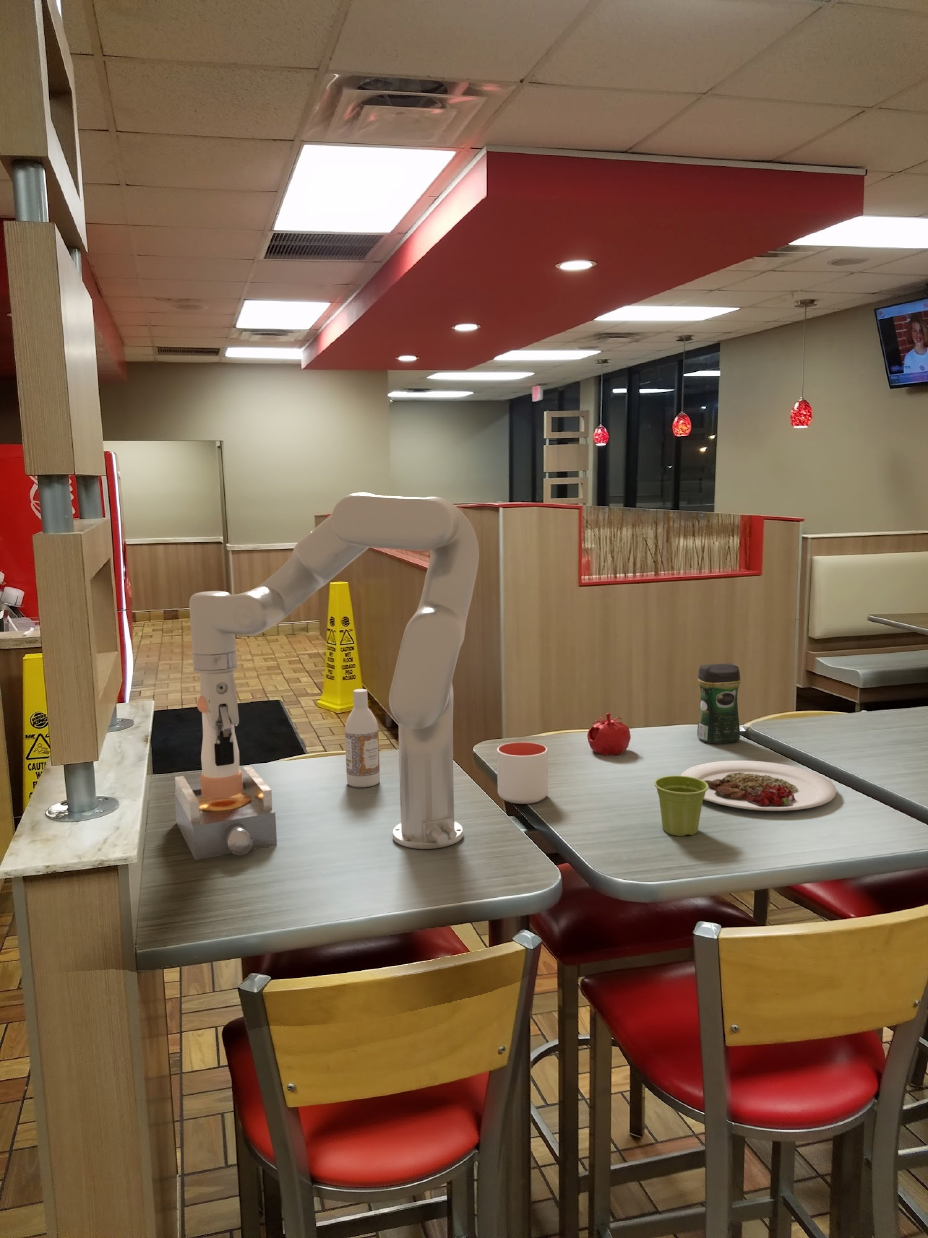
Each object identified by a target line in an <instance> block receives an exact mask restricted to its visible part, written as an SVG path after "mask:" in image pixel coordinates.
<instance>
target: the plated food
mask: <svg viewBox="0 0 928 1238" xmlns="http://www.w3.org/2000/svg"><path fill="white" fill-rule="evenodd" d="M679 776H688V777H694V778H697V779H700V780H703V781H705V782H706V783H707V784H708V790H707V791H706V792H705V796H704V798H703V801H706V802H707V801H708V802H711V803H714V804H717V805H723V806H728V807H731V808H736V809H745V810H751V811H752V810H753V811H754V810H755V811H762V812H763V811H766V812H770V811H771V812H777V811H779V812H782V811H783V812H784V811H797V810H804V809H811V808H815V807H818V806H819V807H820V806H823V805H825V804H827V803H829V802H831V801H832V800H833V799H834V798H836V794H837V788H836V787H837V786H836V785H835V784H834V783H833V782H832V781H831V780H829V779H828V778H826V777H825V776H823V775H820V774H819V773H816V772H814V771H811V770H808V769H805V768H800V767H797V766H793V765H789V764H784V763H778V762H768V761H759V760H757V761H756V760H719V761H713V762H705V763H702V764H697V765H695V766H691V767H689V768H687V769H686V770H683V772H682V773H681V774H680V775H679Z"/></svg>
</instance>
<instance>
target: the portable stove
mask: <svg viewBox="0 0 928 1238" xmlns="http://www.w3.org/2000/svg"><path fill="white" fill-rule="evenodd" d="M174 782H175V784H174V785H175V786H174V787H175V791H174V805H175V807H174V808H175V819H176V820H175V821H176V825H177V827H178V829H179V831H180V832H181V835H182V837H183V839H184V841H185V842H186V845H187V847H188V849H189V851H190V853H191V854H192V857H193V859H194V860H195V861H200V860H205V859H210V858H216V857H221V856H226V855H231V854H233V855H235V856H243V855H246V854H248V853H249V852H250V851H253V850H257V849H264V848H269V847H274V846H277V845H278V840H277V821H276V820H277V819H276V811H275V810H274V808H273V796H272V794H273V793H272V788H270V786H269V785H268V783H266V782H265V781H264V780H263V778H262V777H261V776H260V775H259V774H258V773H257V771H256V770H255V769H254V768H253V767H252V766H251V765H246V766H242V783H243V791H242V792H241V793H239V794H237V795H234V796H231V797H226V798H208V797H204V796H203V795H202V794H201V784H200V785H199V784H198V785H190V784H189V783H188V781H187V780H186V777H185V776H184V775H179V776H175V777H174Z"/></svg>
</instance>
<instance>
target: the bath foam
mask: <svg viewBox="0 0 928 1238" xmlns="http://www.w3.org/2000/svg"><path fill="white" fill-rule="evenodd" d="M352 693H353V694H352V695H353V696H352V697H353V707H352V709H351V712H350V713H349V715H348V717H347V718H346V722H345V726H344V727H345V728H344V737H345V739H344V742H345V743H344V744H345V745H344V746H345V763H346V764H345V765H346V766H345V767H346V771H345V772H346V782H347V784H348V786H350V787H353V788H370V787H374V786H375V785H379V783H380V781H381V773H380V771H381V770H380V765H381V764H380V739H379V723H378V721H377V719H376V716H375V715H374V714H373V712H372V710H371V709H370V708H369V703H368V701H369V700H368V699H369V697H368V696H369V695H368V690H367V689H365V688H357V689H354V690H353V691H352Z"/></svg>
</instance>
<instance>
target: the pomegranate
mask: <svg viewBox="0 0 928 1238" xmlns="http://www.w3.org/2000/svg"><path fill="white" fill-rule="evenodd" d="M605 716H606V719H604V717H602V716H598V719H601V720H595V721H593V722H592V724H594V725H592V726H591V727H590V728H589V729H588V731H587V736H586V737H587V742H588V744H589V746H590V749H591V750H592V751H593V752H594V753H596V754H600V755H604V756H617V755H621V754H623V753H624V752H625V751H626V750H627V749H628V747H629V745H630V743H631V738H632V737H631V730H630V728H629V726H628V725H627V724H626V723H625V722H623V721H617V720H618V719H619V720H622V718H621V717H619V716H617V717H615V718H613V719H612V714H611V712H607V713H605Z"/></svg>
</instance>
